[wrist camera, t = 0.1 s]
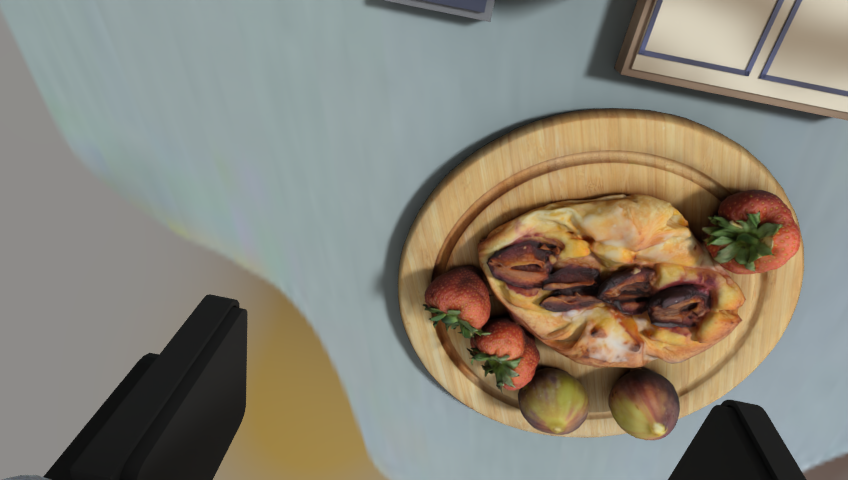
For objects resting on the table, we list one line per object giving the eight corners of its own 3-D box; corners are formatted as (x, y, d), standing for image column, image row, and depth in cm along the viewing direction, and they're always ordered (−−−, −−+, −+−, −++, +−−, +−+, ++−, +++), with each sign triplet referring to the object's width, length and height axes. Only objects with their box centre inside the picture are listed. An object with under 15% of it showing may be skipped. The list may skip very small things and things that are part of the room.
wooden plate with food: (742, 20, 35) (809, 40, 28) (824, 366, 48) (884, 442, 40) (331, 206, 45) (302, 257, 37) (489, 454, 57) (490, 528, 50)
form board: (672, -103, 32) (685, -106, 30) (938, -50, 32) (968, -49, 30) (614, 67, 37) (621, 75, 35) (844, 114, 37) (864, 124, 35)
